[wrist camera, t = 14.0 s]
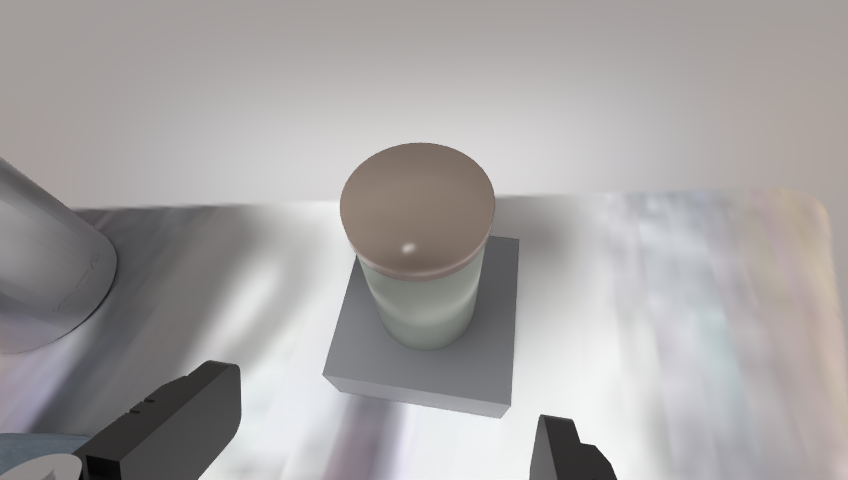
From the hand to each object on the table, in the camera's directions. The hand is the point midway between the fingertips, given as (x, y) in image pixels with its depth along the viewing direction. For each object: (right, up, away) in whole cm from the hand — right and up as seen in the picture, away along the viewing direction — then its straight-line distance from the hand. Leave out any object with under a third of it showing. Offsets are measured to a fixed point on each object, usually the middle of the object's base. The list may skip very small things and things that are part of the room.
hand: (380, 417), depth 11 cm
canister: (+1, +1, +11) cm, 11 cm away
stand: (+2, -1, +14) cm, 14 cm away
